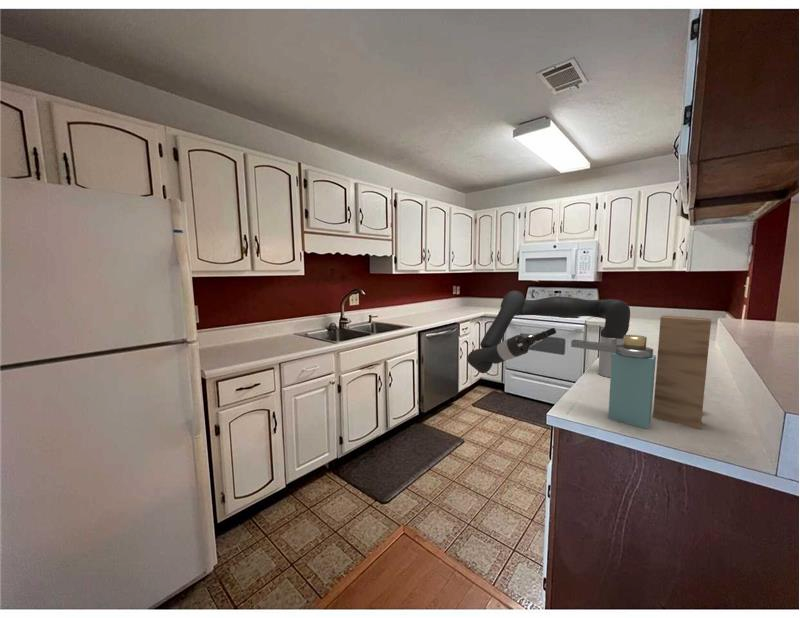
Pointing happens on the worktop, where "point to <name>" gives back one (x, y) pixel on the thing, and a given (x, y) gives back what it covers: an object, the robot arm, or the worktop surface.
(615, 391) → the tall block
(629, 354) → the grey lever handle
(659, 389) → the tall stand
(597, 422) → the worktop surface
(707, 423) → the worktop surface
